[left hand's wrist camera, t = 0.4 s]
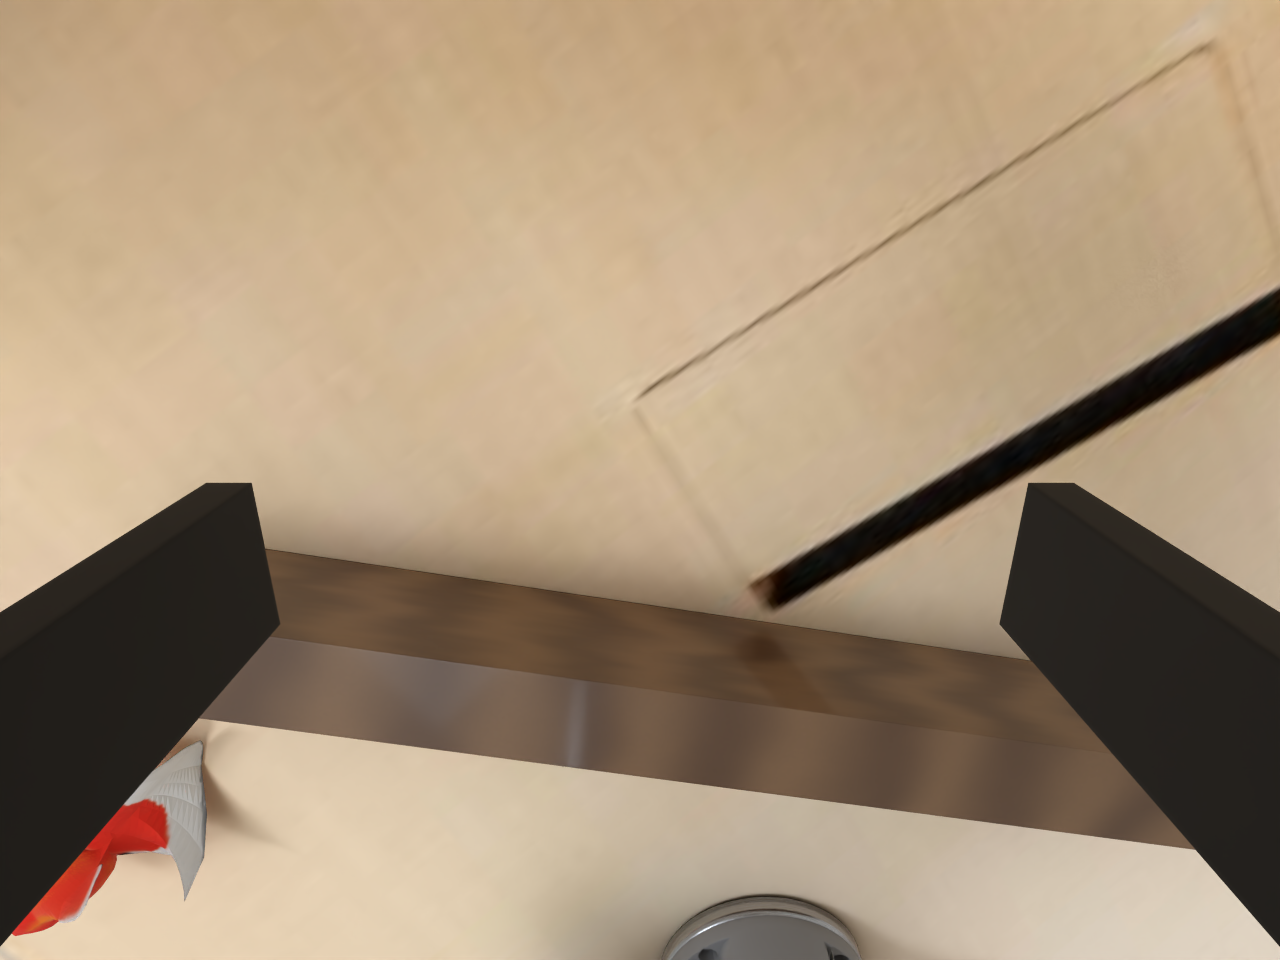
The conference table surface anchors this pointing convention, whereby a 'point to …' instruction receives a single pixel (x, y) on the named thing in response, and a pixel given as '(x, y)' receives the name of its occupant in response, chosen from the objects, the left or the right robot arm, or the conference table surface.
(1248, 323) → the conference table surface
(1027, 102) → the conference table surface
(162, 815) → the fish
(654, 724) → the beam
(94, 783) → the left robot arm
